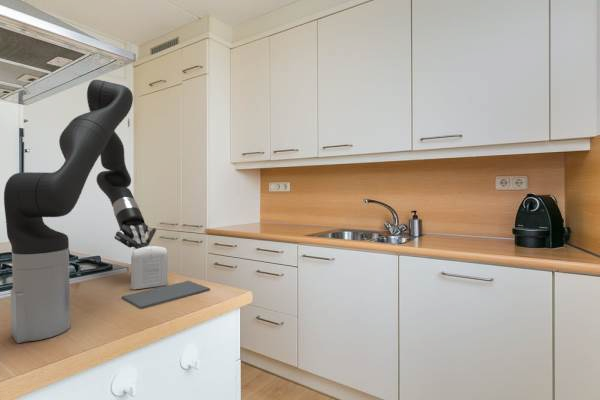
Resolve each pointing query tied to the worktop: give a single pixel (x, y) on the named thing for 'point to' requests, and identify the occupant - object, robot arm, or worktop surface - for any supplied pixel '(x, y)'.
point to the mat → (164, 294)
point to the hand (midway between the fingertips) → (144, 255)
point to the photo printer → (149, 267)
